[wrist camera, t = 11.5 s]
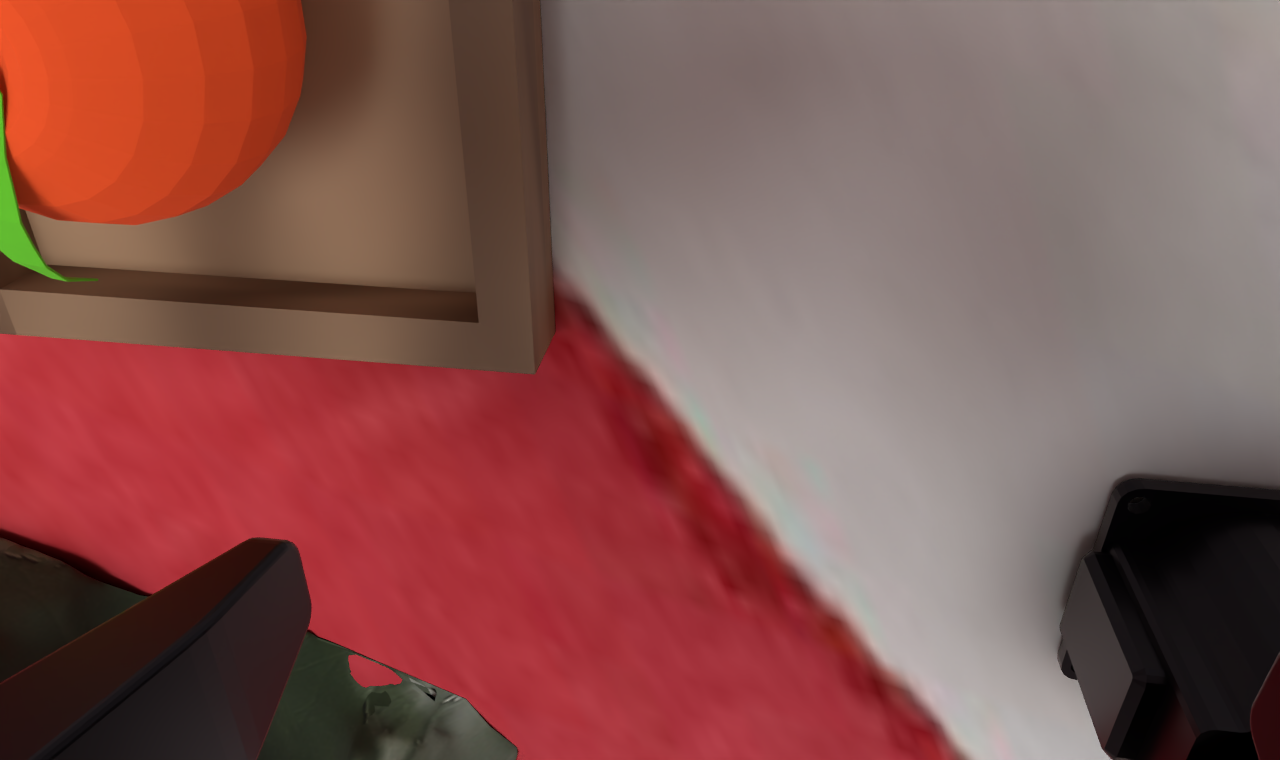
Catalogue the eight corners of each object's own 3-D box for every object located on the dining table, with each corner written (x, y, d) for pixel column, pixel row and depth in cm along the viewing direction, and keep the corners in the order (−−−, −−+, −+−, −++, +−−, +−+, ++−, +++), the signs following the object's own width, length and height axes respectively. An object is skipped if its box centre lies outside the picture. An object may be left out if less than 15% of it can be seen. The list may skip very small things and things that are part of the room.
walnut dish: (521, -416, 15) (485, -453, 13) (555, 332, 22) (535, 374, 20) (-220, -396, 17) (-342, -426, 15) (33, 295, 24) (-28, 331, 22)
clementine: (368, 231, 21) (196, 389, 15) (82, 175, 21) (-205, 306, 15) (365, -171, 17) (123, -184, 11) (8, -234, 17) (-428, -283, 11)
